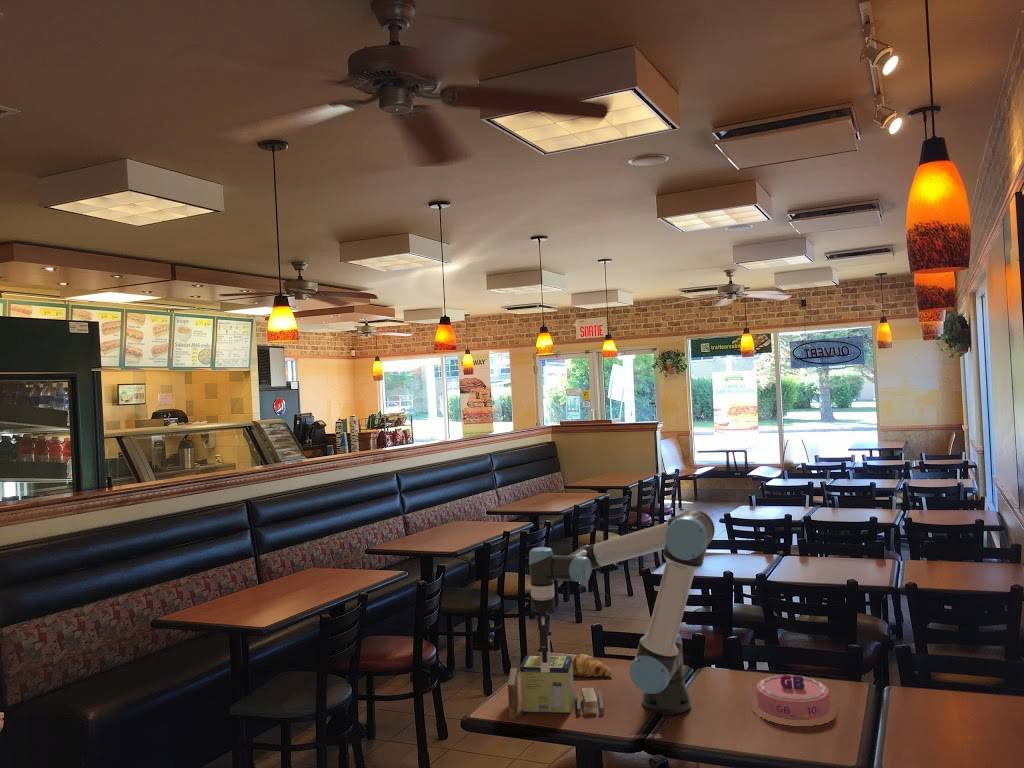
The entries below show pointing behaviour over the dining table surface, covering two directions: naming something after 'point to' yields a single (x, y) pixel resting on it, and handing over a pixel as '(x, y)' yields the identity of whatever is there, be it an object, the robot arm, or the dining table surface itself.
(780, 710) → the cake
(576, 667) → the croissant
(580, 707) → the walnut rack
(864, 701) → the dining table surface
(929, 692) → the dining table surface
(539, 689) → the protein box
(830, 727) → the dining table surface
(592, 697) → the offcut stack
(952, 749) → the dining table surface
